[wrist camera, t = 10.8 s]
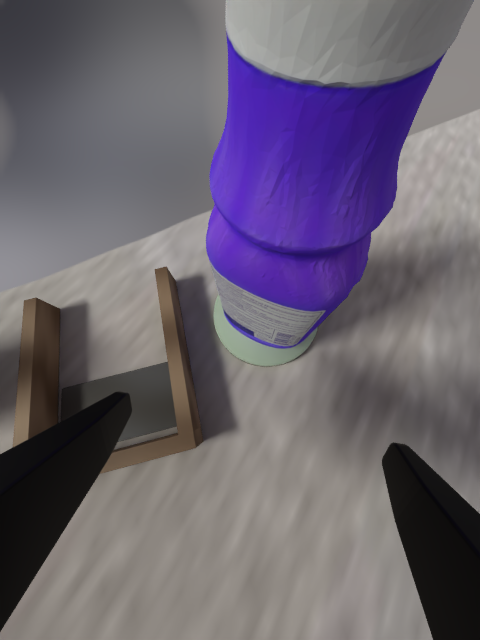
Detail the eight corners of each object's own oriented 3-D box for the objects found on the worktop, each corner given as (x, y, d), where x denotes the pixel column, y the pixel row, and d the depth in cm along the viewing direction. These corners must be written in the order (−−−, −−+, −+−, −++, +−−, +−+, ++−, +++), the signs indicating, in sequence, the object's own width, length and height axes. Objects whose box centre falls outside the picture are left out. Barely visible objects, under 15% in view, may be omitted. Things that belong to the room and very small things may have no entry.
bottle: (320, 304, 20) (679, -179, 3) (295, 364, 18) (734, 22, 2) (245, 273, 21) (223, -183, 5) (215, 326, 19) (21, -73, 3)
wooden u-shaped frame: (203, 441, 17) (195, 447, 15) (42, 484, 17) (8, 498, 14) (175, 281, 22) (166, 266, 19) (49, 311, 21) (24, 300, 19)
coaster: (335, 302, 20) (337, 299, 20) (282, 389, 18) (283, 388, 18) (251, 255, 22) (251, 251, 22) (194, 328, 20) (192, 326, 20)
